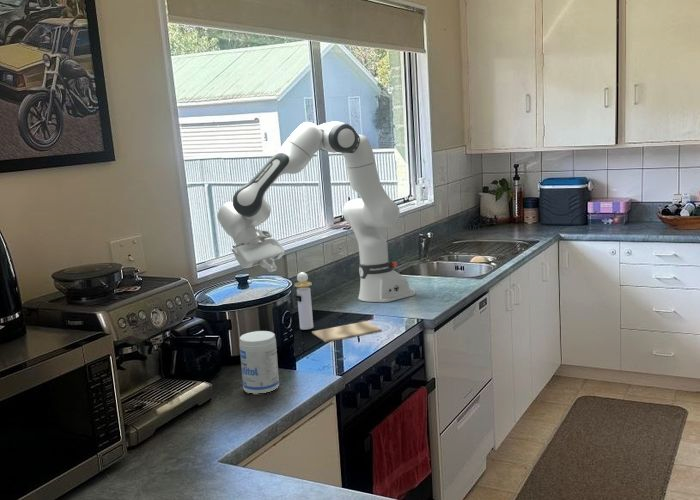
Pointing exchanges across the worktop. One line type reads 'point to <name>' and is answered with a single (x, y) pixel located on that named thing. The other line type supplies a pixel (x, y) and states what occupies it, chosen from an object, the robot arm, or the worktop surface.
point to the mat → (346, 331)
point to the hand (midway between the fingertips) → (273, 270)
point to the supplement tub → (259, 362)
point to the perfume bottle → (304, 301)
